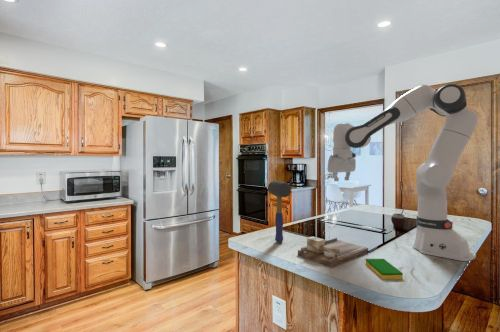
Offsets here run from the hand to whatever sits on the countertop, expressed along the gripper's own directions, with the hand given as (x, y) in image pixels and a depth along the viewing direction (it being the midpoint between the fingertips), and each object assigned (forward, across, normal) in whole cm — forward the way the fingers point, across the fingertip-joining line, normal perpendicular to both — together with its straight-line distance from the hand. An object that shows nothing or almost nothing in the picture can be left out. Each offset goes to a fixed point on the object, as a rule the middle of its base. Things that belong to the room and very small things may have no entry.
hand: (341, 180), depth 146 cm
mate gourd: (+29, +39, -12) cm, 50 cm away
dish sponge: (+30, -28, -36) cm, 54 cm away
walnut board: (+29, -27, -14) cm, 42 cm away
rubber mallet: (+29, -34, +12) cm, 46 cm away
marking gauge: (+27, -35, -15) cm, 46 cm away
